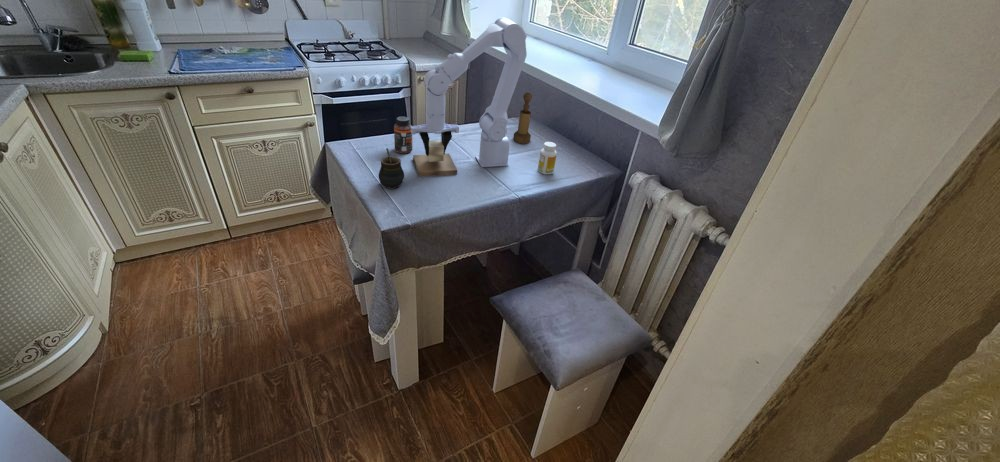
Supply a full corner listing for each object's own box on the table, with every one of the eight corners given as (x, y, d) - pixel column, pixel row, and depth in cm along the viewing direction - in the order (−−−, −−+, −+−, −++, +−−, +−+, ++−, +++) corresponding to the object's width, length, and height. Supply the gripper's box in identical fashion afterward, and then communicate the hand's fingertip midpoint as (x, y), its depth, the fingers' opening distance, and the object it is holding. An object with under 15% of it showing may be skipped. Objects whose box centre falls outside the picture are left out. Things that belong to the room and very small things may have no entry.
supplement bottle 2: (554, 169, 146) (560, 143, 141) (551, 176, 142) (556, 149, 137) (539, 165, 148) (544, 139, 142) (535, 172, 143) (540, 145, 138)
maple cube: (440, 154, 140) (440, 140, 137) (443, 160, 137) (443, 146, 134) (426, 155, 139) (426, 141, 136) (429, 161, 135) (429, 147, 133)
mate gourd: (385, 193, 123) (383, 161, 118) (374, 181, 128) (372, 150, 122) (408, 187, 127) (407, 156, 121) (397, 176, 132) (396, 146, 126)
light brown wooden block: (448, 158, 146) (448, 153, 145) (457, 175, 137) (457, 170, 136) (413, 160, 143) (413, 155, 141) (419, 178, 133) (419, 172, 132)
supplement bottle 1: (408, 155, 144) (408, 123, 138) (391, 152, 145) (390, 120, 138) (415, 148, 149) (414, 117, 142) (398, 145, 150) (397, 114, 143)
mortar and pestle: (530, 144, 162) (537, 97, 151) (513, 142, 161) (519, 95, 151) (529, 137, 167) (536, 91, 157) (513, 135, 167) (518, 89, 156)
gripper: (413, 118, 124) (414, 160, 132) (462, 116, 128) (460, 158, 136) (409, 109, 129) (410, 151, 137) (456, 108, 134) (454, 148, 142)
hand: (434, 154), depth 137 cm, fingers closed on maple cube, 4 cm apart
